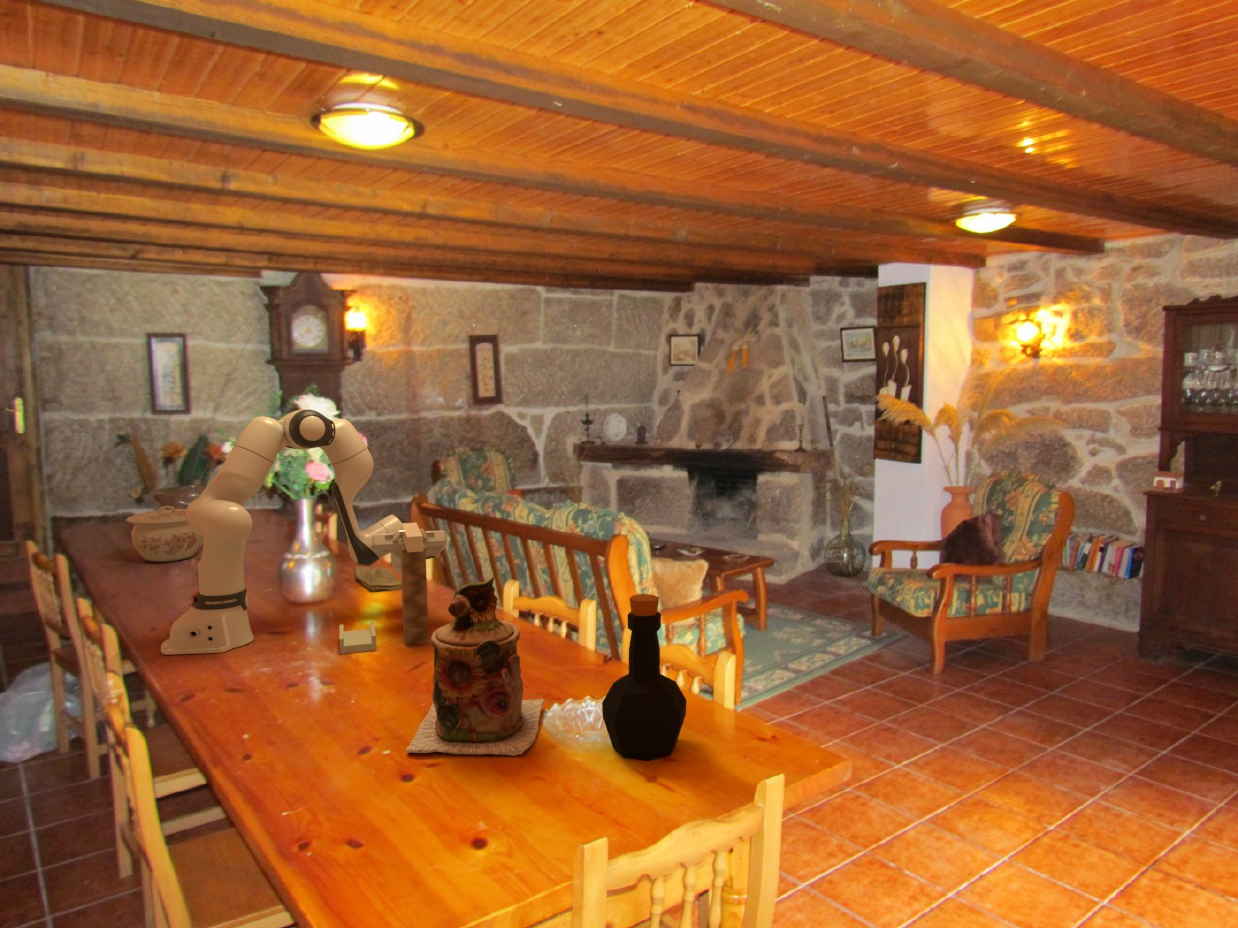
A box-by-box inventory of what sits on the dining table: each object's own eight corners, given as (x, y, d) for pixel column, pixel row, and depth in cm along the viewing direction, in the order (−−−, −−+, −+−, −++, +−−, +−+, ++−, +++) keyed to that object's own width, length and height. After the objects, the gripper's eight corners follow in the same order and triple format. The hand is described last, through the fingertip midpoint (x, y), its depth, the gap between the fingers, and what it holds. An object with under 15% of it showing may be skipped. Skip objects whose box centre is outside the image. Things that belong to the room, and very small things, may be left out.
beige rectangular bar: (407, 552, 222) (406, 536, 221) (401, 537, 241) (401, 523, 240) (423, 551, 223) (422, 536, 223) (416, 536, 242) (416, 522, 241)
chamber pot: (111, 565, 323) (107, 510, 321) (161, 550, 350) (158, 499, 347) (179, 568, 318) (175, 512, 316) (225, 552, 345) (222, 500, 343)
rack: (340, 653, 223) (339, 638, 223) (340, 638, 236) (339, 624, 235) (376, 650, 226) (375, 635, 226) (374, 635, 238) (373, 621, 238)
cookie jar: (434, 706, 189) (429, 563, 185) (546, 707, 188) (544, 563, 185) (402, 757, 165) (397, 593, 161) (531, 759, 164) (528, 594, 160)
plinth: (405, 646, 229) (402, 549, 226) (403, 638, 236) (400, 544, 233) (428, 643, 231) (425, 548, 228) (426, 636, 238) (423, 543, 235)
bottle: (600, 731, 176) (599, 587, 172) (680, 728, 177) (680, 585, 174) (604, 767, 160) (603, 609, 157) (692, 764, 161) (693, 607, 158)
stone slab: (383, 563, 314) (405, 577, 287) (384, 574, 314) (405, 590, 288) (348, 566, 308) (367, 582, 281) (349, 578, 308) (367, 594, 282)
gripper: (370, 540, 246) (370, 523, 234) (442, 535, 252) (447, 519, 240) (371, 561, 243) (371, 545, 231) (444, 556, 250) (448, 540, 237)
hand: (410, 532), depth 236 cm, fingers closed on beige rectangular bar, 4 cm apart
